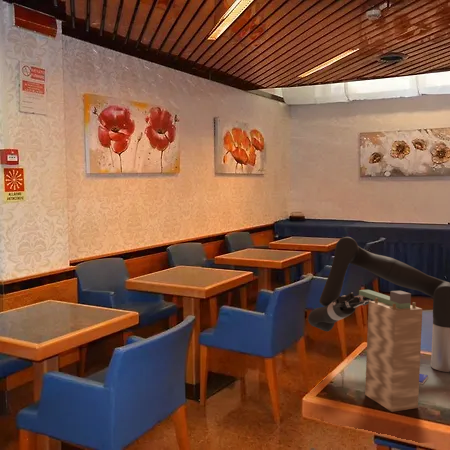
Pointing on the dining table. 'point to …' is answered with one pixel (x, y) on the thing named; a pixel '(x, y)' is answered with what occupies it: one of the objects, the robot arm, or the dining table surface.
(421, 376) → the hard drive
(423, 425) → the dining table surface
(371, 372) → the stand
